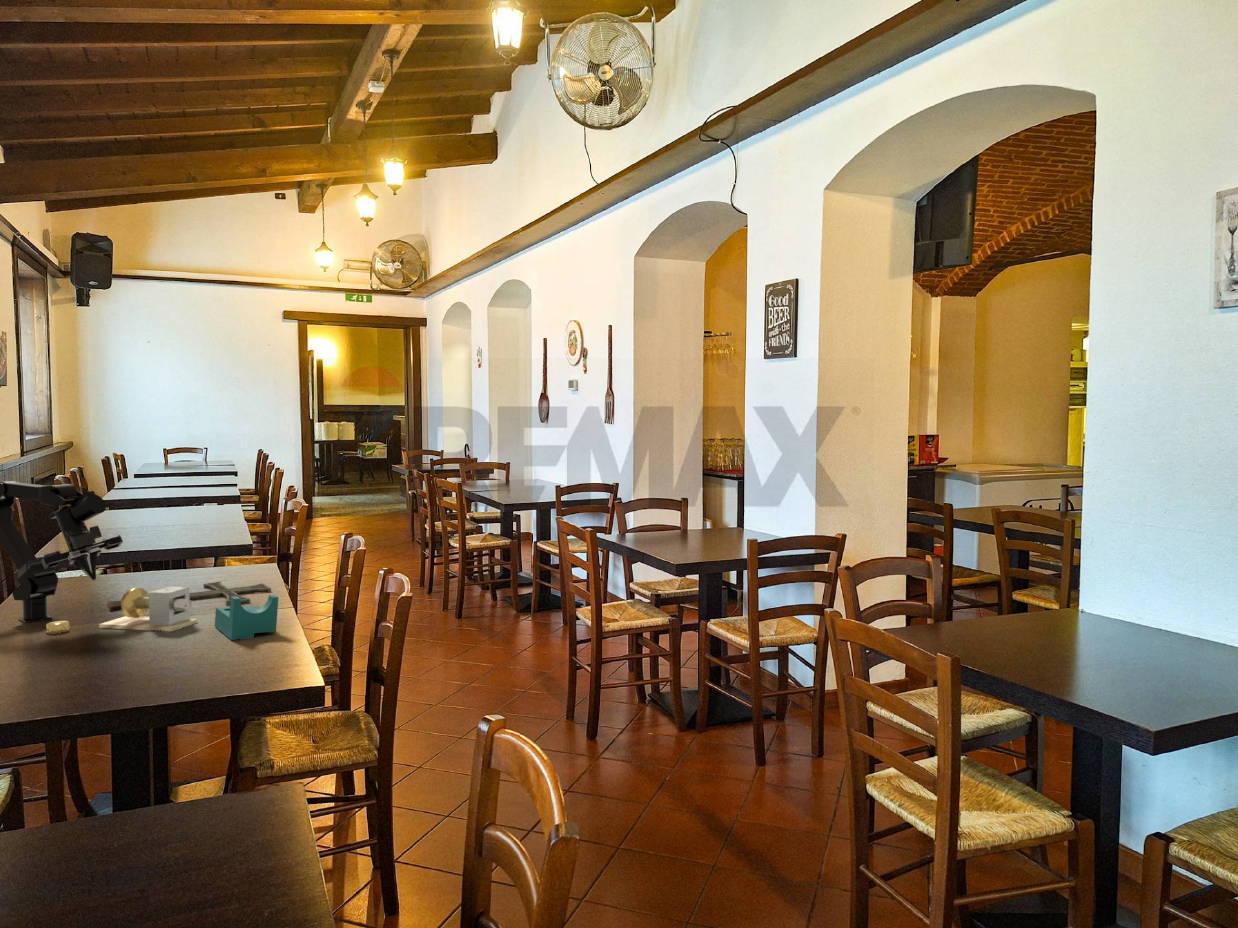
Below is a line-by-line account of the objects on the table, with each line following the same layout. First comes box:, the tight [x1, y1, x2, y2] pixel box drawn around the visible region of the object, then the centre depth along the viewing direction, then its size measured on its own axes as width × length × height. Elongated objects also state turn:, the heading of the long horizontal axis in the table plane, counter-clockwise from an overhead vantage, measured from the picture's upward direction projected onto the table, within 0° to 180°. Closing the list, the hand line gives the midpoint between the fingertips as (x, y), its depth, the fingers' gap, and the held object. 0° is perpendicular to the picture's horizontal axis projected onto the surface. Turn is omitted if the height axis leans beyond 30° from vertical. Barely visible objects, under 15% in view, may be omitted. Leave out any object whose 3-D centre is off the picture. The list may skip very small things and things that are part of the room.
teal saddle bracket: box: [214, 594, 279, 641], centre depth 223 cm, size 18×11×10 cm, turn 38°
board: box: [98, 615, 198, 632], centre depth 229 cm, size 22×10×1 cm, turn 80°
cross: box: [106, 580, 272, 612], centre depth 262 cm, size 35×2×45 cm
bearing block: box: [148, 586, 191, 627], centre depth 227 cm, size 6×8×9 cm
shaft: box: [120, 587, 193, 618], centre depth 228 cm, size 17×8×8 cm, turn 80°
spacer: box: [45, 620, 70, 635], centre depth 222 cm, size 5×5×2 cm
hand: (94, 579), depth 229 cm, fingers closed
